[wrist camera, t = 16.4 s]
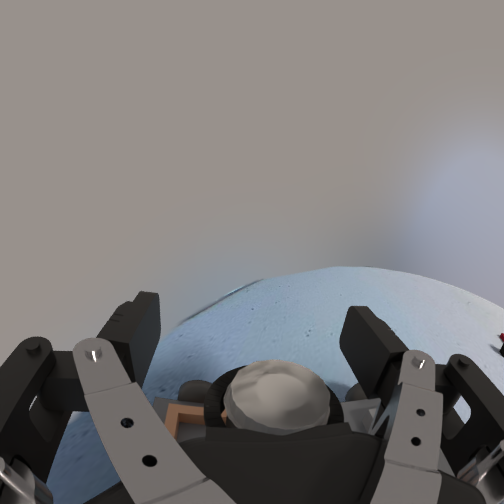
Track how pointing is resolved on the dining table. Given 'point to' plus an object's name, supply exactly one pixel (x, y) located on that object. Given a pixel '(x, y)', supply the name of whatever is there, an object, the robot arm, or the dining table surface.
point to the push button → (271, 399)
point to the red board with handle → (503, 348)
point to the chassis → (192, 417)
